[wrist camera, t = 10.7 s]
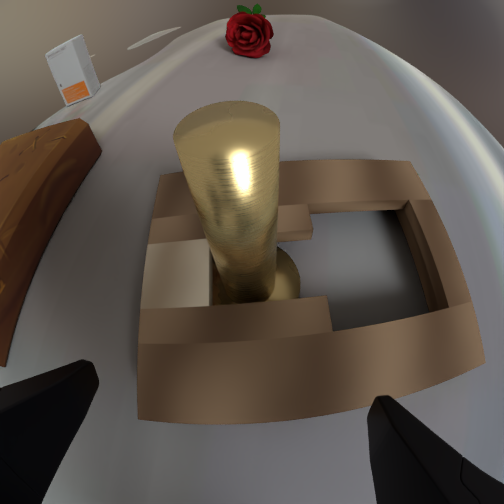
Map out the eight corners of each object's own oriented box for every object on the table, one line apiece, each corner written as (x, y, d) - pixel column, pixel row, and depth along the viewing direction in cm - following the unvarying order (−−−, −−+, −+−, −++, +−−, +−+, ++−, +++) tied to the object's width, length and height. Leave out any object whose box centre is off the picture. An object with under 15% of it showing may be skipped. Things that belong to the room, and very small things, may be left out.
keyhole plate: (398, 185, 20) (409, 161, 17) (458, 371, 12) (485, 362, 10) (171, 201, 20) (160, 175, 18) (159, 416, 12) (137, 419, 10)
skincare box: (66, 107, 34) (43, 55, 24) (75, 96, 36) (55, 47, 26) (93, 97, 34) (71, 40, 24) (101, 86, 36) (82, 33, 26)
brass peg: (250, 356, 14) (210, 260, 5) (185, 290, 16) (96, 145, 7) (317, 287, 16) (372, 127, 6) (251, 233, 18) (233, 71, 9)
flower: (229, -10, 39) (245, 12, 26) (265, 2, 43) (303, 36, 30) (213, 19, 46) (220, 61, 33) (249, 30, 50) (275, 78, 37)
